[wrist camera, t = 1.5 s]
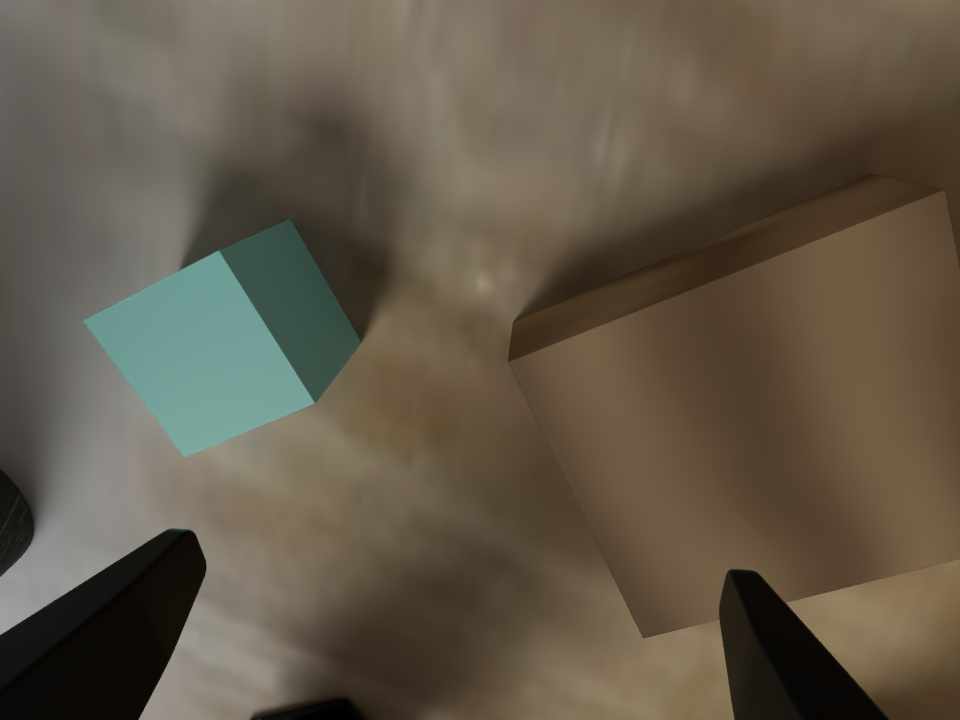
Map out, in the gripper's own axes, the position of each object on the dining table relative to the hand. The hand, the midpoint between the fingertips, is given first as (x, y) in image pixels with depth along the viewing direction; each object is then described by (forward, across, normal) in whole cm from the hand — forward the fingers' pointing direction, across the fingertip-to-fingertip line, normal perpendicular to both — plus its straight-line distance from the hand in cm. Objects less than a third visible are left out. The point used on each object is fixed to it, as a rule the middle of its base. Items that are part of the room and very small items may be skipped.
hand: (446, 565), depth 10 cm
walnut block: (+13, -8, +4) cm, 16 cm away
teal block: (+12, +9, +1) cm, 15 cm away
